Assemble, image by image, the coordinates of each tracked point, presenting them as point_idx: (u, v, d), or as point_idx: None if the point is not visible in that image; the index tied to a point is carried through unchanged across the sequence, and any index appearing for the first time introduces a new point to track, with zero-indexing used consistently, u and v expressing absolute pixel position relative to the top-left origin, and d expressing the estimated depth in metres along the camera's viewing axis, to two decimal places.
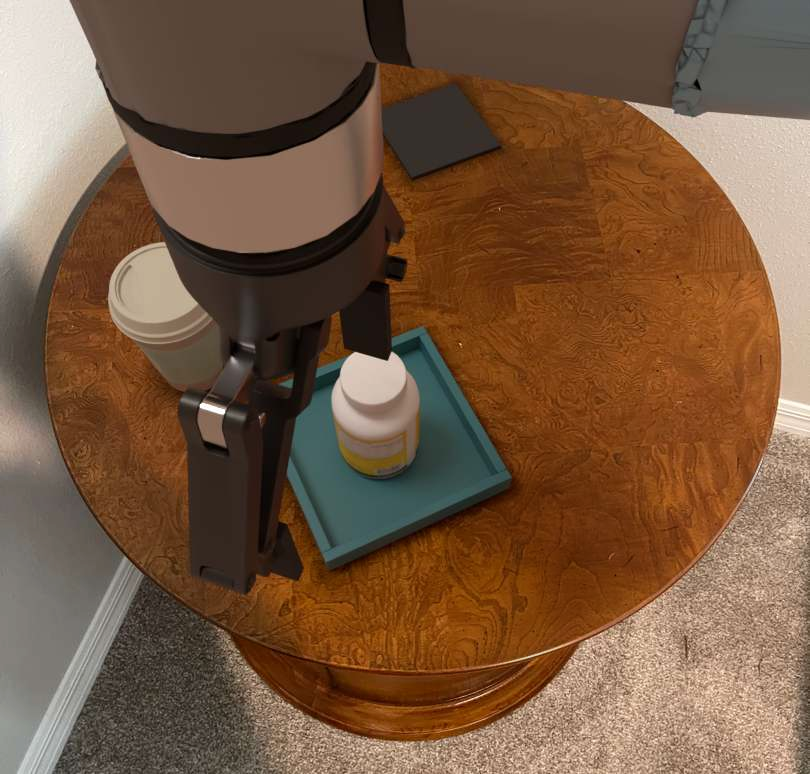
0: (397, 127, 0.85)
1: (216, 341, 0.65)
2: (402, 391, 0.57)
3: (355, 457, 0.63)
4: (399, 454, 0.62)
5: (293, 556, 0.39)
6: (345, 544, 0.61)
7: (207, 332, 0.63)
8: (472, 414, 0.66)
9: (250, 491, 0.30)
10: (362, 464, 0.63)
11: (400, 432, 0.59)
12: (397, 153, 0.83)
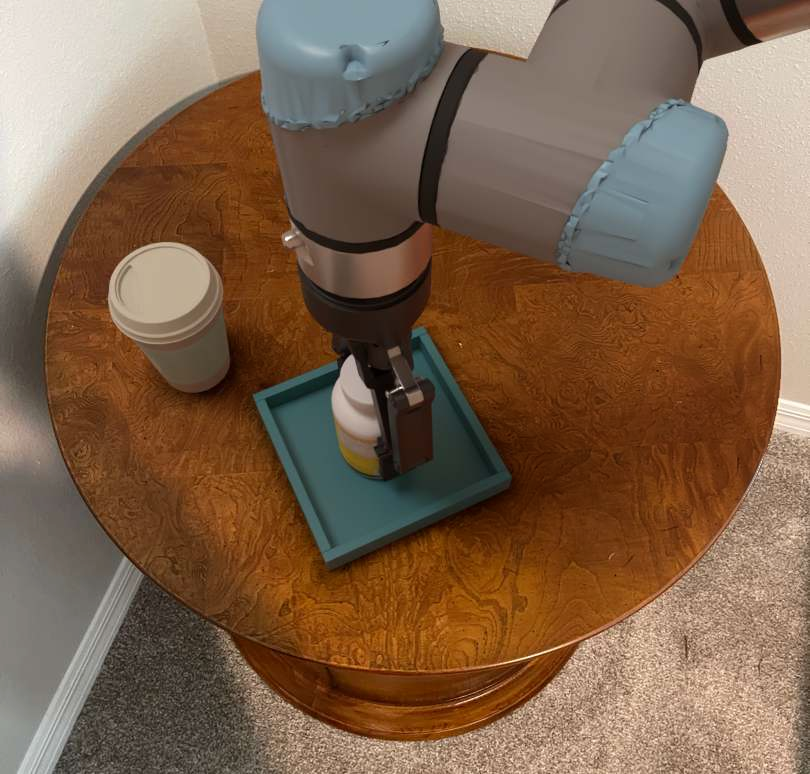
0: None
1: (216, 341, 0.65)
2: None
3: (355, 457, 0.63)
4: None
5: None
6: (345, 544, 0.61)
7: (207, 332, 0.63)
8: (472, 414, 0.66)
9: (430, 414, 0.51)
10: (362, 464, 0.63)
11: None
12: None
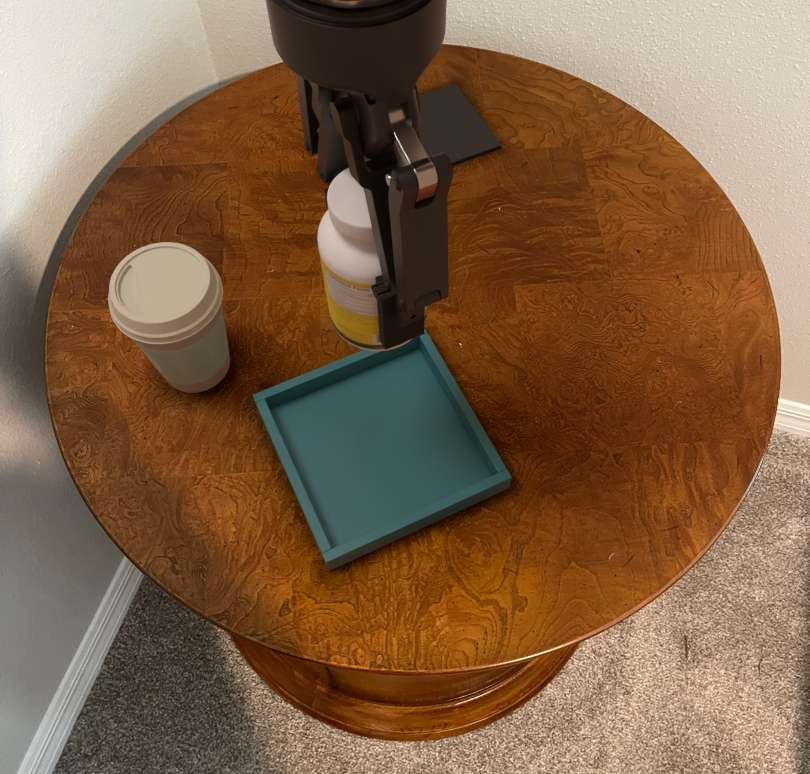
0: None
1: (216, 341, 0.65)
2: None
3: (348, 318, 0.50)
4: None
5: None
6: (345, 544, 0.61)
7: (207, 332, 0.63)
8: (472, 414, 0.66)
9: (445, 218, 0.39)
10: (357, 327, 0.51)
11: None
12: None
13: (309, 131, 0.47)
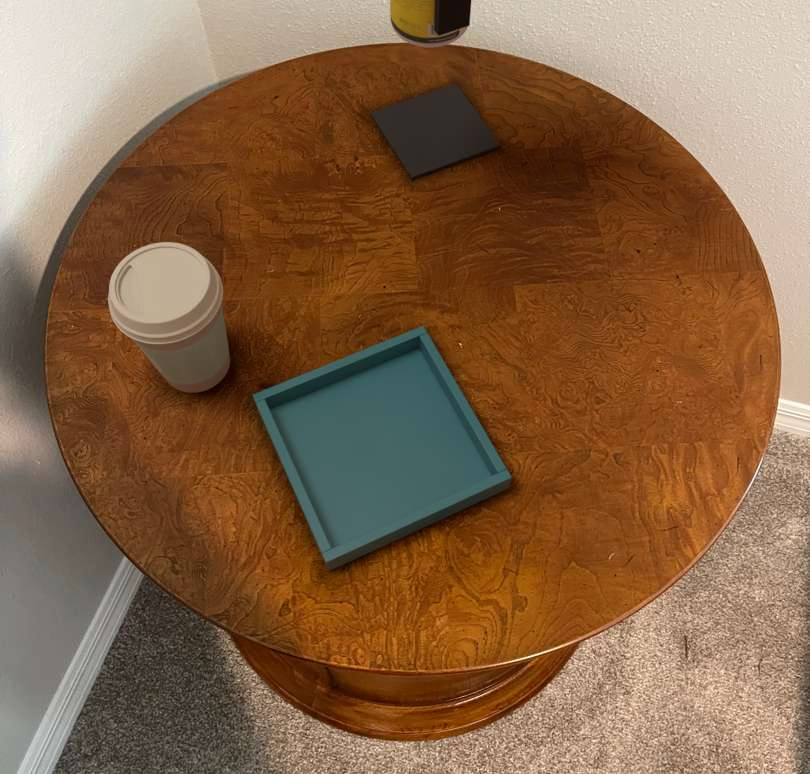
0: (397, 127, 0.85)
1: (216, 341, 0.65)
2: None
3: (409, 7, 0.63)
4: None
5: None
6: (345, 544, 0.61)
7: (207, 332, 0.63)
8: (472, 414, 0.66)
9: None
10: (416, 17, 0.63)
11: None
12: (397, 153, 0.83)
13: None
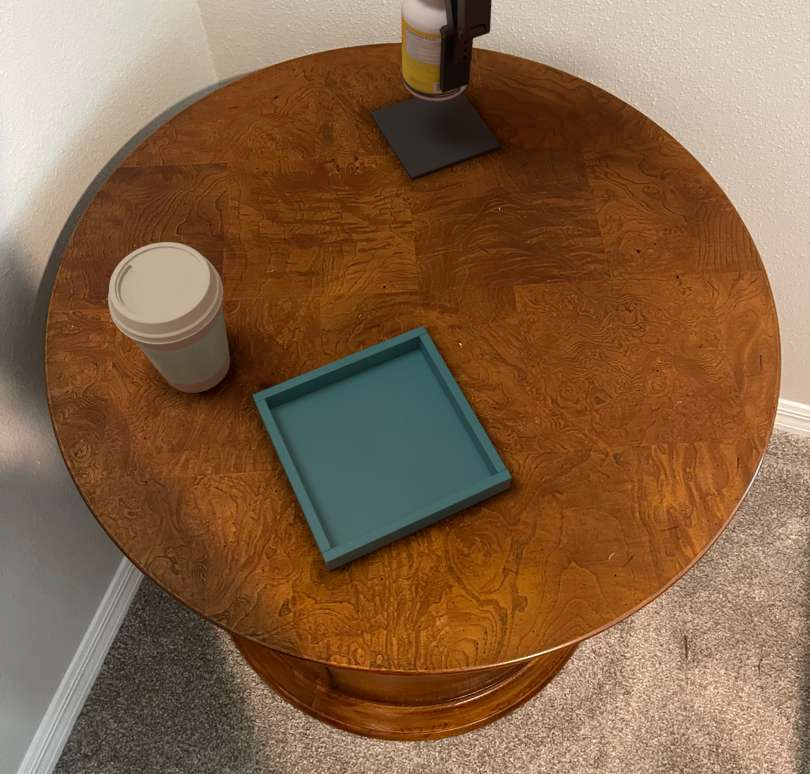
0: (397, 127, 0.85)
1: (216, 341, 0.65)
2: None
3: (418, 69, 0.75)
4: None
5: None
6: (345, 544, 0.61)
7: (207, 332, 0.63)
8: (472, 414, 0.66)
9: None
10: (424, 77, 0.75)
11: None
12: (397, 153, 0.83)
13: None
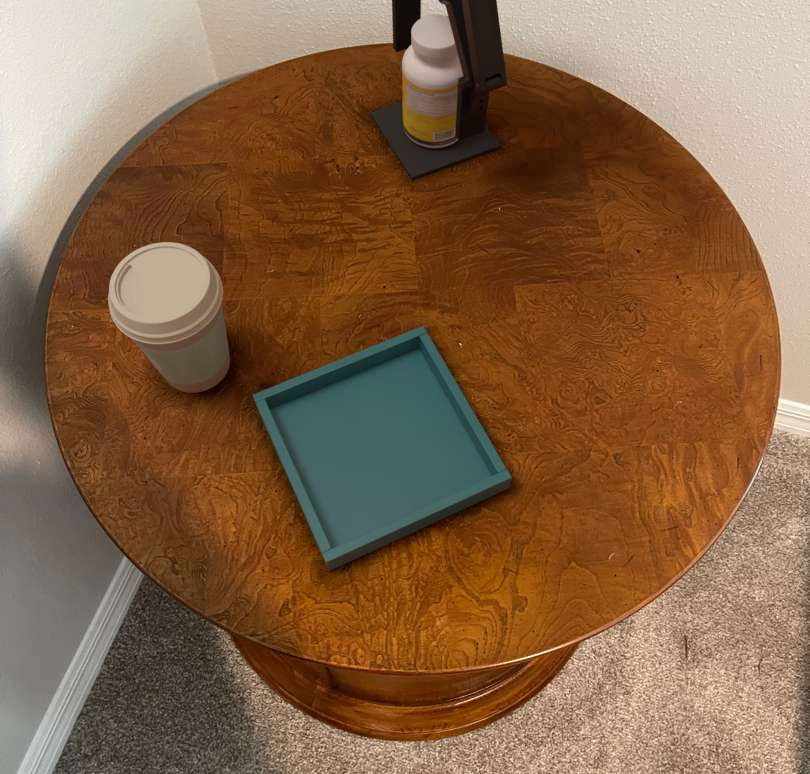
0: (397, 127, 0.85)
1: (216, 341, 0.65)
2: None
3: (418, 120, 0.80)
4: (453, 115, 0.79)
5: None
6: (345, 544, 0.61)
7: (207, 332, 0.63)
8: (472, 414, 0.66)
9: (496, 12, 0.66)
10: (423, 127, 0.80)
11: (456, 84, 0.76)
12: (397, 153, 0.83)
13: None
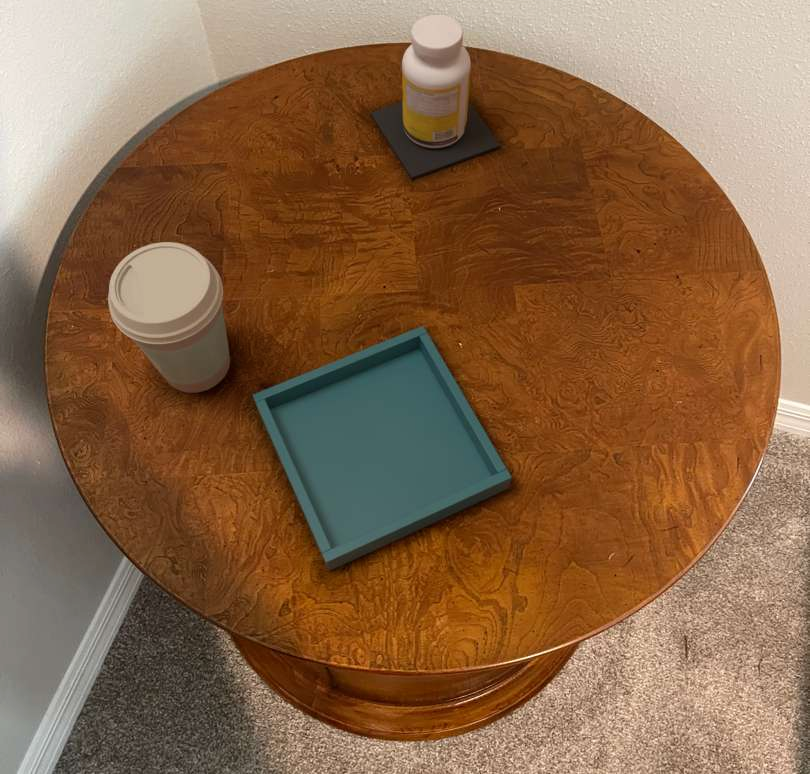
0: (397, 127, 0.85)
1: (216, 341, 0.65)
2: (459, 42, 0.74)
3: (418, 120, 0.80)
4: (453, 115, 0.79)
5: None
6: (345, 544, 0.61)
7: (207, 332, 0.63)
8: (472, 414, 0.66)
9: None
10: (423, 127, 0.80)
11: (456, 84, 0.76)
12: (397, 153, 0.83)
13: None
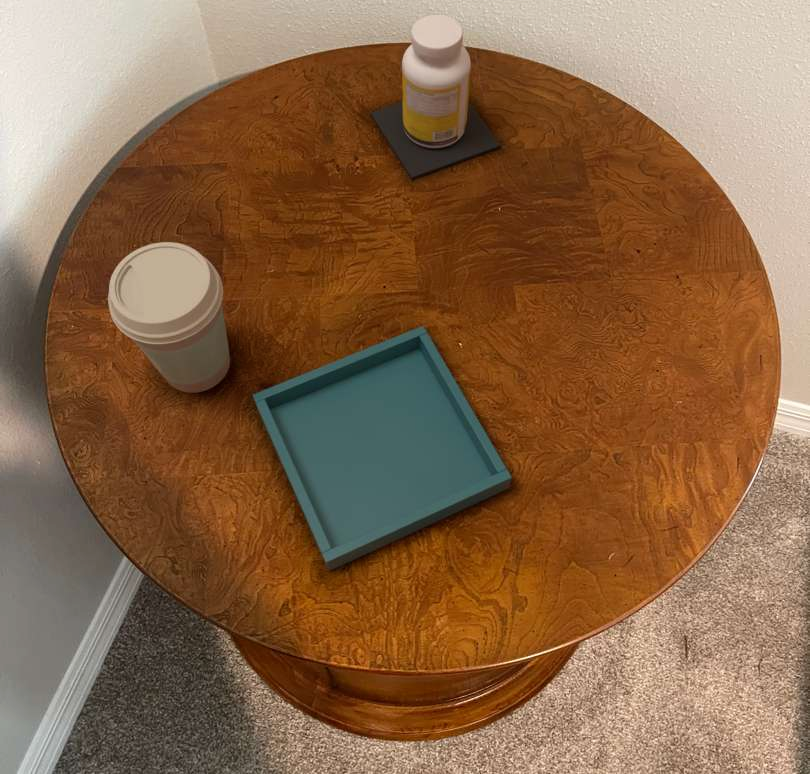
0: (397, 127, 0.85)
1: (216, 341, 0.65)
2: (459, 42, 0.74)
3: (418, 120, 0.80)
4: (453, 115, 0.79)
5: None
6: (345, 544, 0.61)
7: (207, 332, 0.63)
8: (472, 414, 0.66)
9: None
10: (423, 127, 0.80)
11: (456, 84, 0.76)
12: (397, 153, 0.83)
13: None
